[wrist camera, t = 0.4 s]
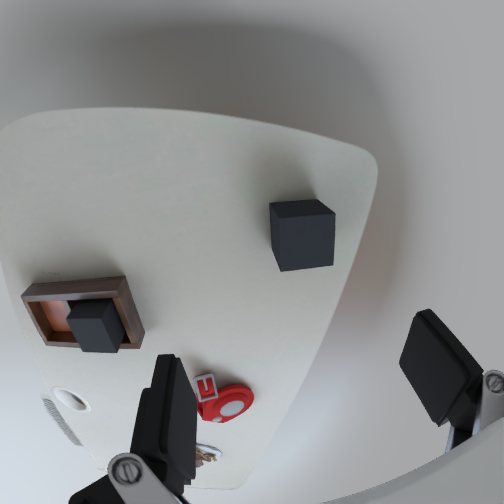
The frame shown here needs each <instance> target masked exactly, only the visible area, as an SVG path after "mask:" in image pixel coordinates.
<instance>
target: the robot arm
mask: <svg viewBox="0 0 504 504" xmlns="http://www.w3.org/2000/svg"><path fill="white" fill-rule="evenodd" d="M399 364H400V367H401V369H402V371H403V372H404V374H405V375H406V377H407V379H408V380H409V382H410V384H411V385H412V387H413V388H414V390H415V392H416V393H417V395H418V397H419V398H420V400H421V402H422V404H423V406H424V407H425V409H426V410H427V412H428V414H429V416H430V418H431V420H432V421H433V422H435V423H436V424H437V425H438V427H439V426H441V425H443V424H445V423H447V422H448V421H450V423H451V427H450V432H449V437H448V442H447V446H446V450H445V454H443V455H442V456H440V457H438V458H436V459H434V460H433V461H431V462H429V463H427V464H425V465H423V466H421V467H419V468H417V469H415V470H413V471H411V472H409V473H407V474H405V475H402V476H400V477H398V478H396V479H393V480H391V481H388V482H386V483H384V484H381V485H378V486H376V487H373V488H370V489H367V490H365V491H362V492H359V493H356V494H352V495H349V496H346V497H343V498H339V499H336V500H332V501H328V502H324V503H320V504H504V374H503V373H502V372H500V371H498V370H490V371H488V372H486V373H485V375H484V376H483V375H482V373H483V369H482V368H481V366H480V365H479V364H478V363H477V361H476V360H475V359H474V358H473V357H472V355H471V354H470V353H469V352H468V351H467V349H466V348H465V347H464V346H463V345H462V343H461V342H460V341H459V340H458V339H457V338H456V336H455V335H454V334H453V333H452V332H451V331H450V330H449V329H448V328H447V326H446V325H445V324H444V323H443V322H442V321H441V320H440V319H439V318H438V316H437V315H436V314H435V313H434V312H433V311H432V310H431V309H426V310H423V311H420V312H417V313H416V316H415V317H414V318H413V321H412V324H411V328H410V331H409V334H408V337H407V340H406V343H405V346H404V349H403V352H402V354H401V357H400V361H399ZM197 407H198V405H197V399H196V396H195V394H194V391H193V389H192V387H191V384H190V382H189V380H188V377H187V375H186V372H185V370H184V367H183V365H182V362H181V360H180V358H176V357H175V355H174V354H162V355H158V357H157V360H156V365H155V369H154V373H153V378H152V383H151V388H144V389H143V391H142V394H141V398H140V402H139V407H138V412H137V417H136V422H135V427H134V432H133V437H132V443H131V448H130V453H121V454H119V455H116V456H115V457H114V458H112V460H111V461H110V462H109V465H108V468H107V470H108V474H107V475H105V476H104V477H102V478H101V479H99V480H97V481H96V482H94V483H92V484H91V485H89V486H87V487H86V488H84V489H82V490H80V491H79V492H77V493H75V494H74V495H72V496H71V498H70V500H69V503H68V504H191V503H190V502H189V501H188V500H187V499H186V498H185V497H184V496H183V493H184V485H191V479H195V476H196V432H197Z"/></svg>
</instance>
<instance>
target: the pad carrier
mask: <svg viewBox="0 0 504 504" xmlns="http://www.w3.org/2000/svg"><path fill="white" fill-rule="evenodd" d="M21 298H22V300H23V303H24V305H25V307H26V309H27V311H28V313H29V315H30V317H31V319H32V321H33V323H34V325H35V327H36V328H37V330H38V332H39V334H40V336H41V337H42V339H43V341H44V343H45V344H46V346H58V347H74V348H81V347H80V346H79V344H78V342H77V340H76V338H75V336H74V335H73V333H72V331H71V329H70V327H69V325H68V323H67V321H66V317H67V316H68V314H69V313H70V311H71V310H72V309H73V307H74V306H75V304H76V303H77V301H78V300H81V299H99V298H113V300H114V303H115V305H116V308H117V311H118V313H119V316H120V318H121V321H122V323H123V325H124V328H125V330H126V332H125V334H124V337H123V339H122V342H121V345H120V347H119V349H140V347H141V344H142V341H143V338H144V334H145V331H144V328H143V326H142V323H141V321H140V318H139V315H138V312H137V310H136V307H135V304H134V301H133V298H132V295H131V292H130V289H129V286H128V283H127V280H126V277H125V276H120V277H109V278H99V279H88V280H77V281H65V282H54V283H42V284H31V286H30V287H29V288H28V289H27V290H26V291H25V292H24V293H23V294H22V295H21Z"/></svg>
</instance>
